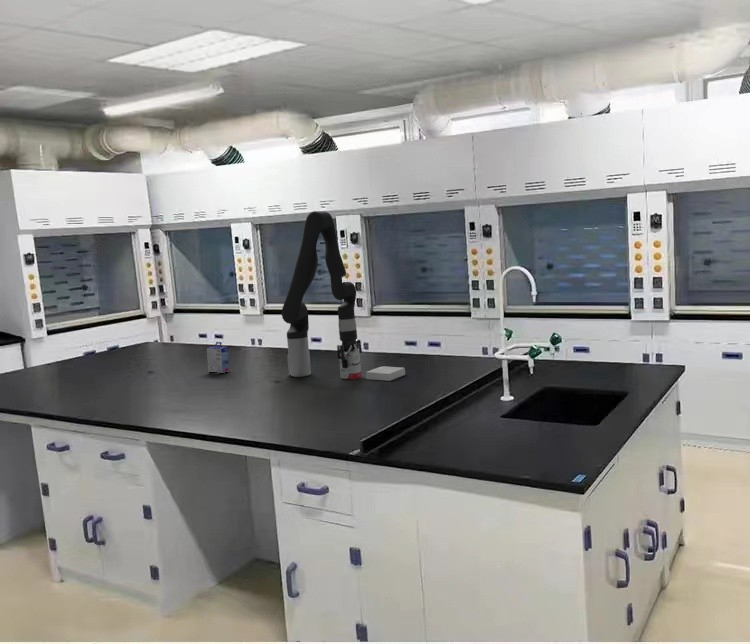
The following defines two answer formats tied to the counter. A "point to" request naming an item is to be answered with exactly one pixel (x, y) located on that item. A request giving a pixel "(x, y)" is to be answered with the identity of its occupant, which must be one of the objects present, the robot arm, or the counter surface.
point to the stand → (385, 373)
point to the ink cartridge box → (218, 358)
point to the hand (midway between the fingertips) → (351, 366)
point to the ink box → (351, 366)
